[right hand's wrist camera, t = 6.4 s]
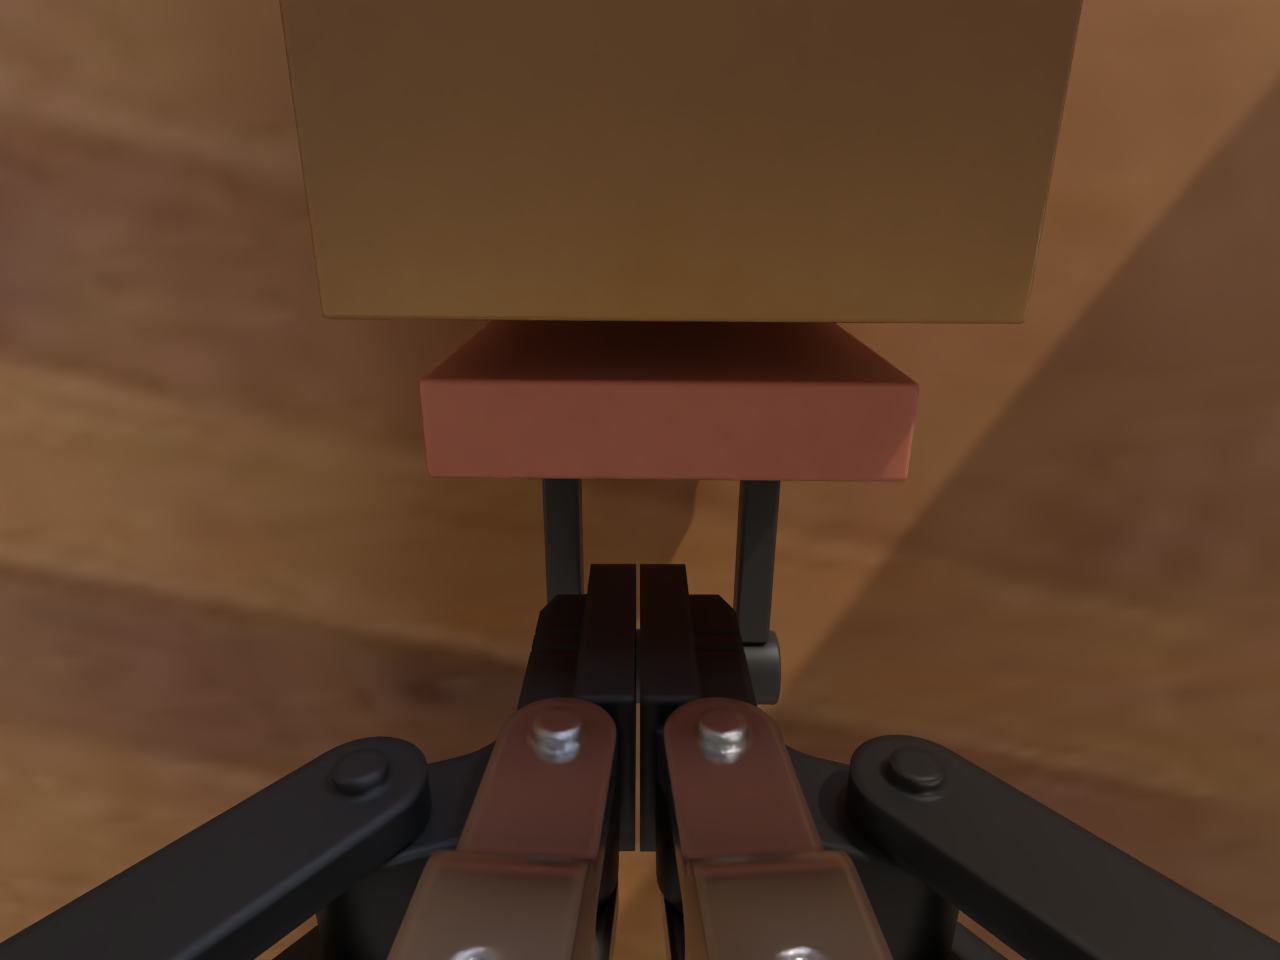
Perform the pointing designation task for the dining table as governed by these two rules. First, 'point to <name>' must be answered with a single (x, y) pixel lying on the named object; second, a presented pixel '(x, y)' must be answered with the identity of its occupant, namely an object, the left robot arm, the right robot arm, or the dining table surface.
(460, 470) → the drawer
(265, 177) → the dining table surface
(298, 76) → the cabinet
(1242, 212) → the dining table surface
